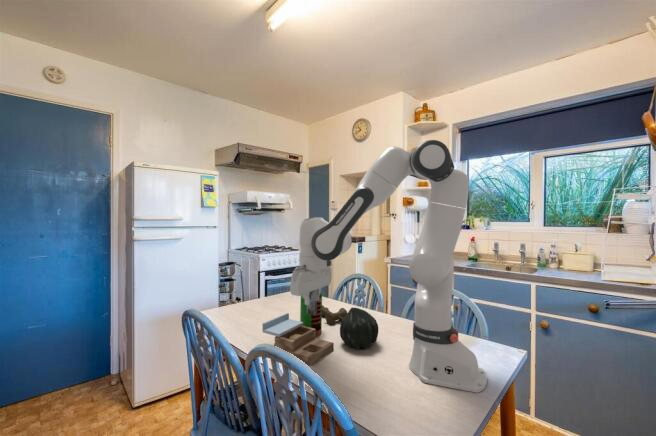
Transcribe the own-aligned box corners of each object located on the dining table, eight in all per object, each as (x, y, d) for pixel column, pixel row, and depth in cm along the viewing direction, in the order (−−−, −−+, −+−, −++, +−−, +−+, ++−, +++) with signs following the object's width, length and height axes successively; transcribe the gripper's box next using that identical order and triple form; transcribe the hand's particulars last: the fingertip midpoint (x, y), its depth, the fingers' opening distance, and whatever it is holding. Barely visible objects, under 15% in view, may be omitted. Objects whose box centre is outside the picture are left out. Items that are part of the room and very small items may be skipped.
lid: (303, 324, 117) (303, 316, 117) (278, 336, 105) (278, 327, 105) (287, 320, 121) (287, 313, 121) (262, 332, 109) (262, 323, 109)
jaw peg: (318, 312, 105) (318, 287, 105) (312, 315, 102) (312, 289, 102) (310, 310, 107) (310, 285, 107) (304, 313, 104) (304, 287, 104)
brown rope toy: (327, 313, 151) (353, 323, 135) (311, 318, 146) (337, 329, 130) (327, 301, 151) (353, 310, 135) (311, 305, 146) (336, 315, 130)
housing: (333, 349, 109) (333, 333, 109) (311, 365, 97) (311, 347, 97) (299, 339, 118) (299, 324, 118) (274, 353, 106) (274, 336, 106)
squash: (390, 328, 115) (366, 296, 120) (377, 344, 102) (350, 308, 107) (365, 346, 121) (342, 315, 125) (349, 364, 108) (325, 328, 112)
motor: (318, 339, 119) (318, 288, 118) (296, 337, 120) (296, 287, 120) (323, 329, 129) (323, 283, 128) (303, 327, 130) (303, 282, 130)
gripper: (301, 268, 94) (301, 312, 94) (334, 260, 111) (334, 297, 111) (285, 266, 97) (285, 309, 97) (320, 259, 115) (320, 295, 115)
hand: (311, 302), depth 104 cm, fingers closed on jaw peg, 3 cm apart
